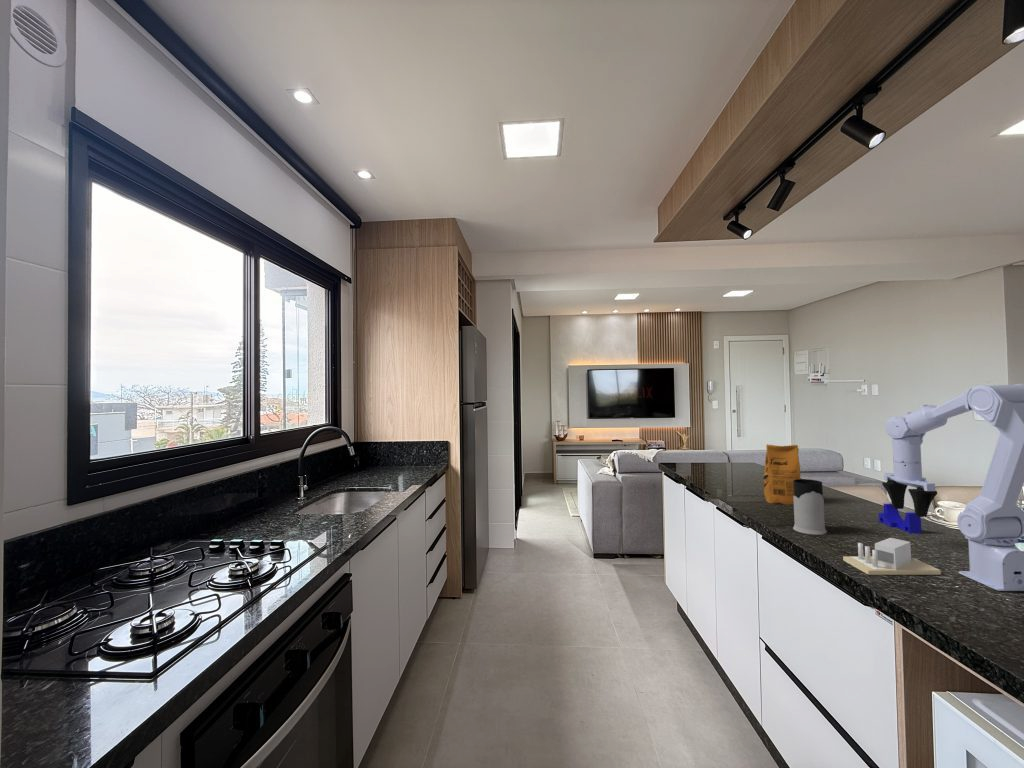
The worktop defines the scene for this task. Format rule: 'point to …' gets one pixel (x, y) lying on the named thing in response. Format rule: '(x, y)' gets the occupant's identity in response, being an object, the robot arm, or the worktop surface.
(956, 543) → the worktop surface
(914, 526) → the cable clip
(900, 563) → the plug housing
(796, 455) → the coffee package
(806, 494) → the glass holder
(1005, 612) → the worktop surface
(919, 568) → the board
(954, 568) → the worktop surface
